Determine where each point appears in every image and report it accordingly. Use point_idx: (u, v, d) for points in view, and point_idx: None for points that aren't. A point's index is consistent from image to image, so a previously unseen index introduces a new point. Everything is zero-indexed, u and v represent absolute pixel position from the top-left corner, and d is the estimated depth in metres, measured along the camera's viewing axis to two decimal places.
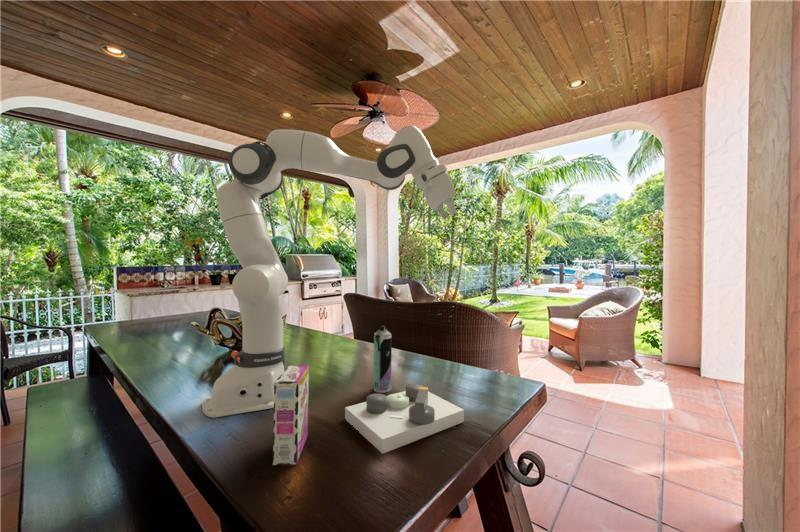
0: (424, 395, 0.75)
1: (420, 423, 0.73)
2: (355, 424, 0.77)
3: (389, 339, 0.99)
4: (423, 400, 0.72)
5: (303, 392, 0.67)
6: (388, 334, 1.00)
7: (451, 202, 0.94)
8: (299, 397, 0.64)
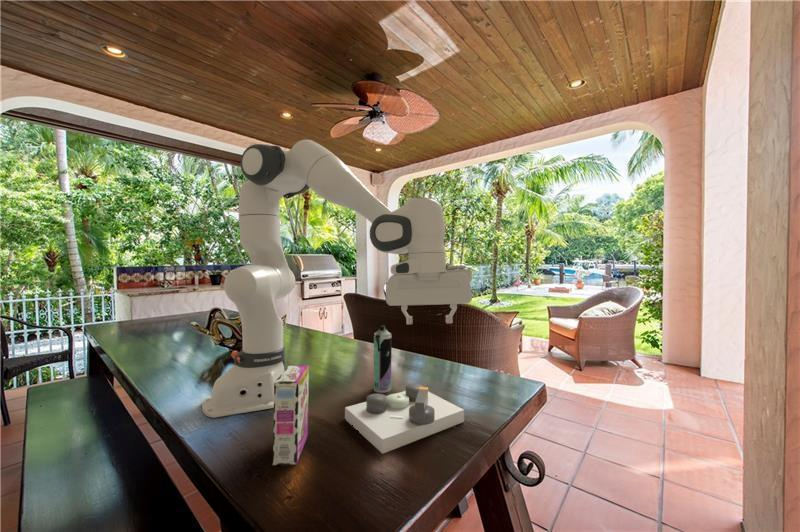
0: (424, 395, 0.75)
1: (420, 423, 0.73)
2: (355, 424, 0.77)
3: (389, 339, 0.99)
4: (423, 400, 0.72)
5: (303, 392, 0.67)
6: (388, 334, 1.00)
7: None
8: (299, 397, 0.64)
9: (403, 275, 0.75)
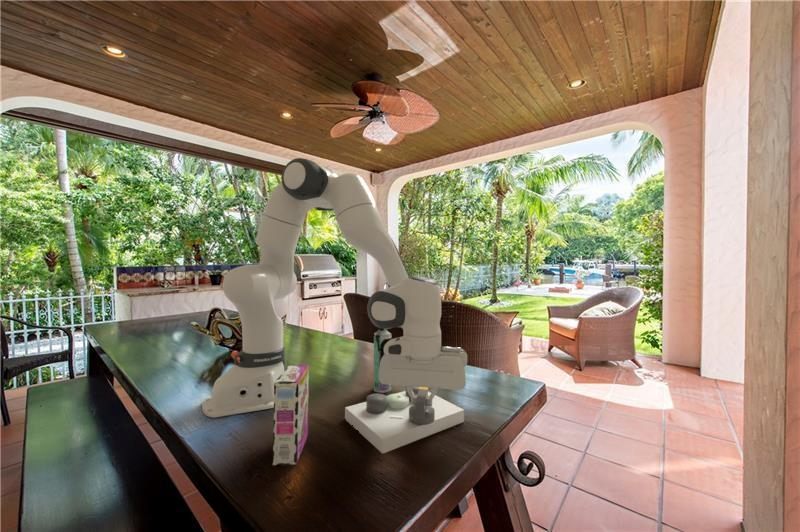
0: (424, 395, 0.75)
1: (420, 423, 0.73)
2: (355, 424, 0.77)
3: (389, 339, 0.99)
4: (423, 400, 0.72)
5: (303, 392, 0.67)
6: (388, 334, 1.00)
7: None
8: (299, 397, 0.64)
9: (395, 355, 0.74)
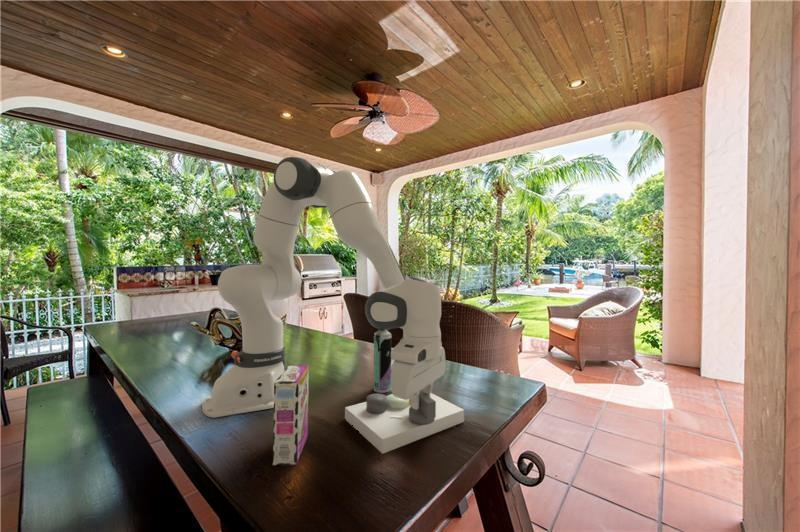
0: (425, 394, 0.75)
1: (428, 422, 0.73)
2: (355, 424, 0.77)
3: (389, 339, 0.99)
4: (431, 399, 0.73)
5: (303, 392, 0.67)
6: (388, 334, 1.00)
7: (414, 396, 0.72)
8: (299, 397, 0.64)
9: (419, 362, 0.69)
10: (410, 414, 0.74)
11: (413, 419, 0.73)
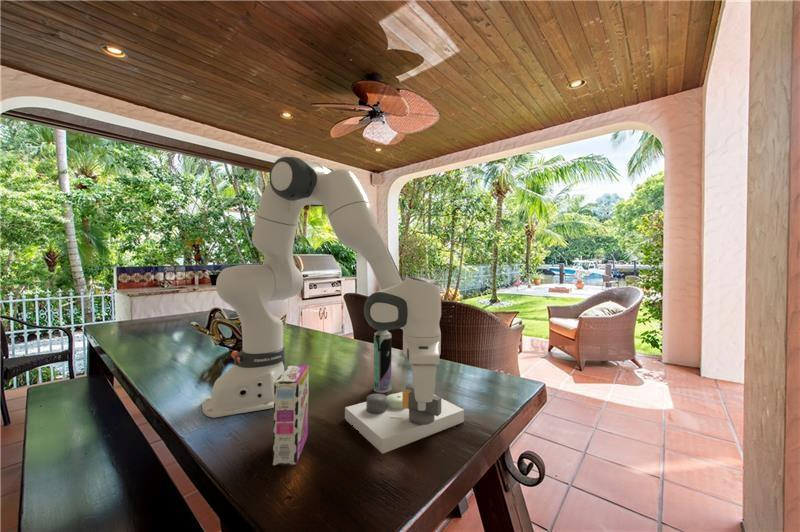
0: None
1: (433, 420, 0.74)
2: (355, 424, 0.77)
3: (389, 339, 0.99)
4: (435, 396, 0.75)
5: (303, 392, 0.67)
6: (388, 334, 1.00)
7: None
8: (299, 397, 0.64)
9: None
10: (416, 417, 0.73)
11: (420, 421, 0.73)
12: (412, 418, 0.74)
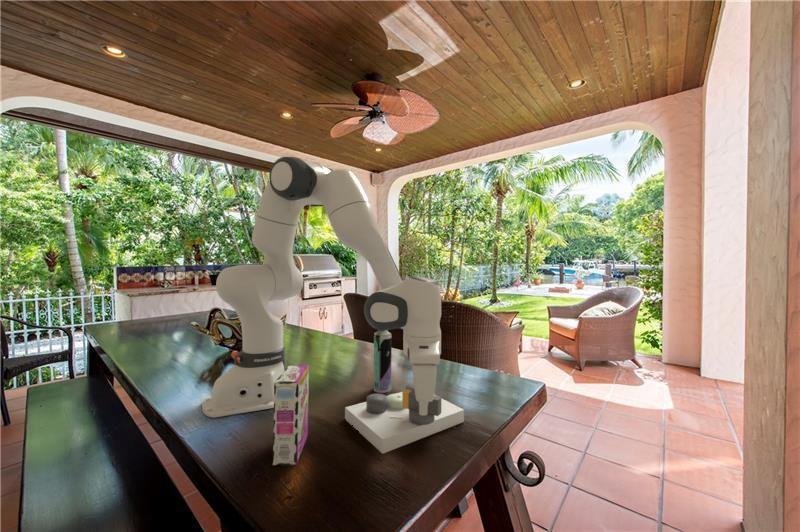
0: None
1: (433, 420, 0.74)
2: (355, 424, 0.77)
3: (389, 339, 0.99)
4: (435, 396, 0.75)
5: (303, 392, 0.67)
6: (388, 334, 1.00)
7: (425, 402, 0.69)
8: (299, 397, 0.64)
9: None
10: (416, 417, 0.73)
11: (420, 421, 0.73)
12: (412, 418, 0.74)
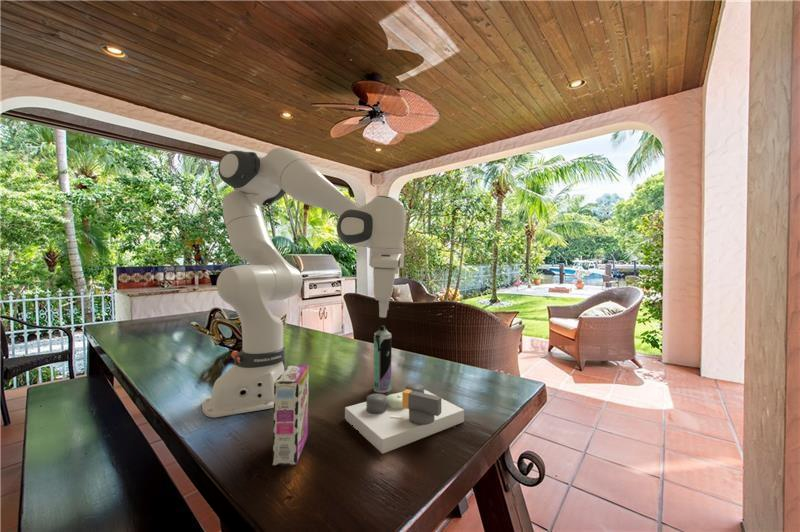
0: (424, 394, 0.76)
1: (433, 420, 0.74)
2: (355, 424, 0.77)
3: (389, 339, 0.99)
4: (435, 396, 0.75)
5: (303, 392, 0.67)
6: (388, 334, 1.00)
7: (384, 304, 0.77)
8: (299, 397, 0.64)
9: (396, 269, 0.77)
10: (416, 417, 0.73)
11: (420, 421, 0.73)
12: (412, 418, 0.74)
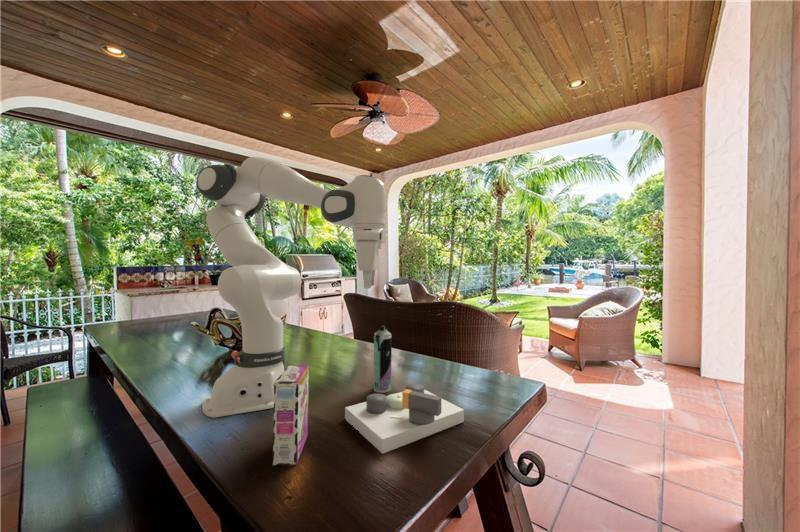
0: (424, 394, 0.76)
1: (433, 420, 0.74)
2: (355, 424, 0.77)
3: (389, 339, 0.99)
4: (435, 396, 0.75)
5: (303, 392, 0.67)
6: (388, 334, 1.00)
7: (368, 275, 0.81)
8: (299, 397, 0.64)
9: (378, 242, 0.82)
10: (416, 417, 0.73)
11: (420, 421, 0.73)
12: (412, 418, 0.74)
